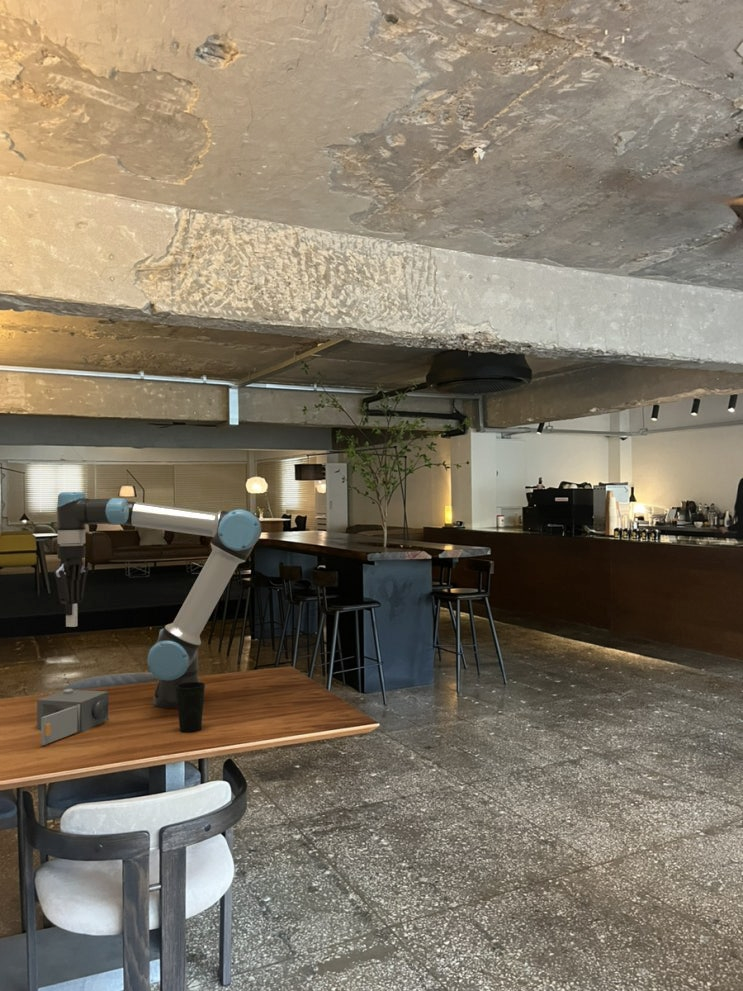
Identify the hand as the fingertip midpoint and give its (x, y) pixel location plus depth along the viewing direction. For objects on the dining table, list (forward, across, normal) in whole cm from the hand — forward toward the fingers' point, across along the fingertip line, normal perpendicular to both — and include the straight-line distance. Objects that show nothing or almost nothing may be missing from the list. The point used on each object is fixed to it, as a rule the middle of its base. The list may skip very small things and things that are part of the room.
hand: (71, 626), depth 209 cm
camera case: (+26, +6, +5) cm, 27 cm away
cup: (+27, +4, +40) cm, 48 cm away
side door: (+26, +19, +11) cm, 34 cm away
